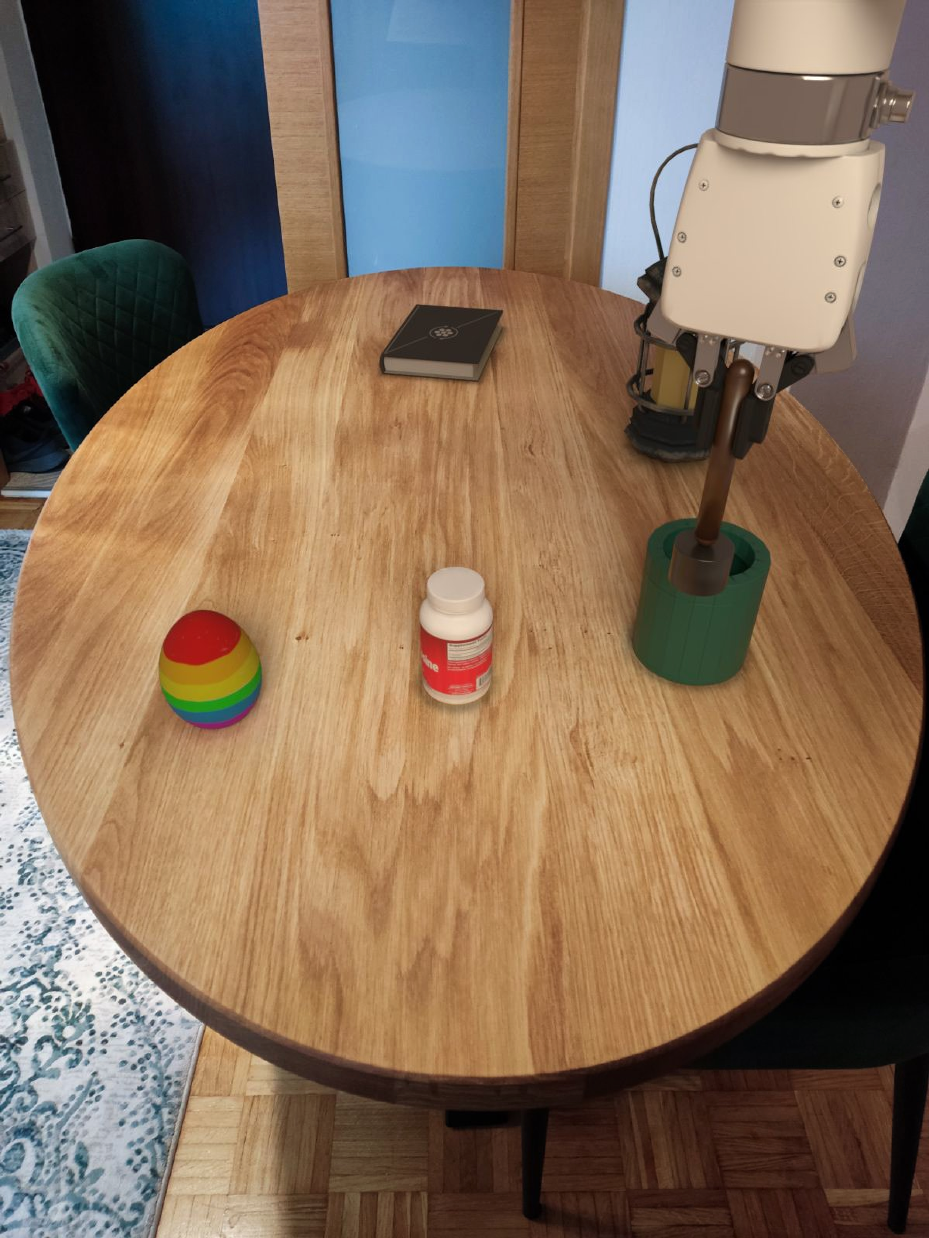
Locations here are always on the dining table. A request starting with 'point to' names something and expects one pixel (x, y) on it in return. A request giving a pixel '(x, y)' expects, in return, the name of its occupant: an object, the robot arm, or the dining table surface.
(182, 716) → the decorative egg
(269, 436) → the dining table surface
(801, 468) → the dining table surface
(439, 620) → the pill bottle
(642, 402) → the lantern
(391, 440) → the dining table surface
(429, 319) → the book
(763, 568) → the jar
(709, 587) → the brown pestle
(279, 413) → the dining table surface
